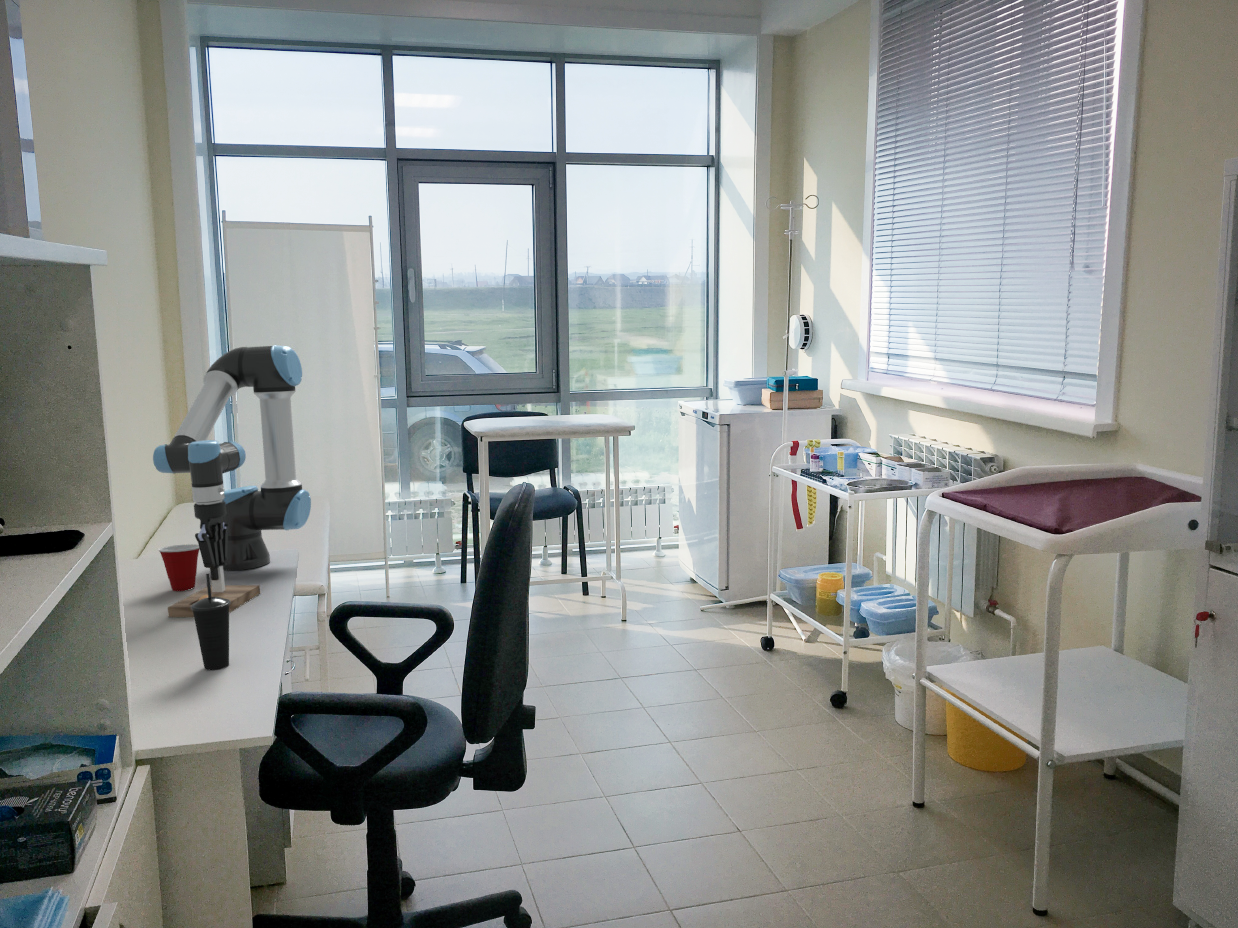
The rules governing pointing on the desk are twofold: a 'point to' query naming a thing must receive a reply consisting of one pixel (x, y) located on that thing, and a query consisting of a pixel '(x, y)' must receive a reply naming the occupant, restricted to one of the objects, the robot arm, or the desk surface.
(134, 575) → the desk surface
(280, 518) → the robot arm
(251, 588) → the board
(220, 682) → the desk surface
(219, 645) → the drinking cup
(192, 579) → the plastic cup
